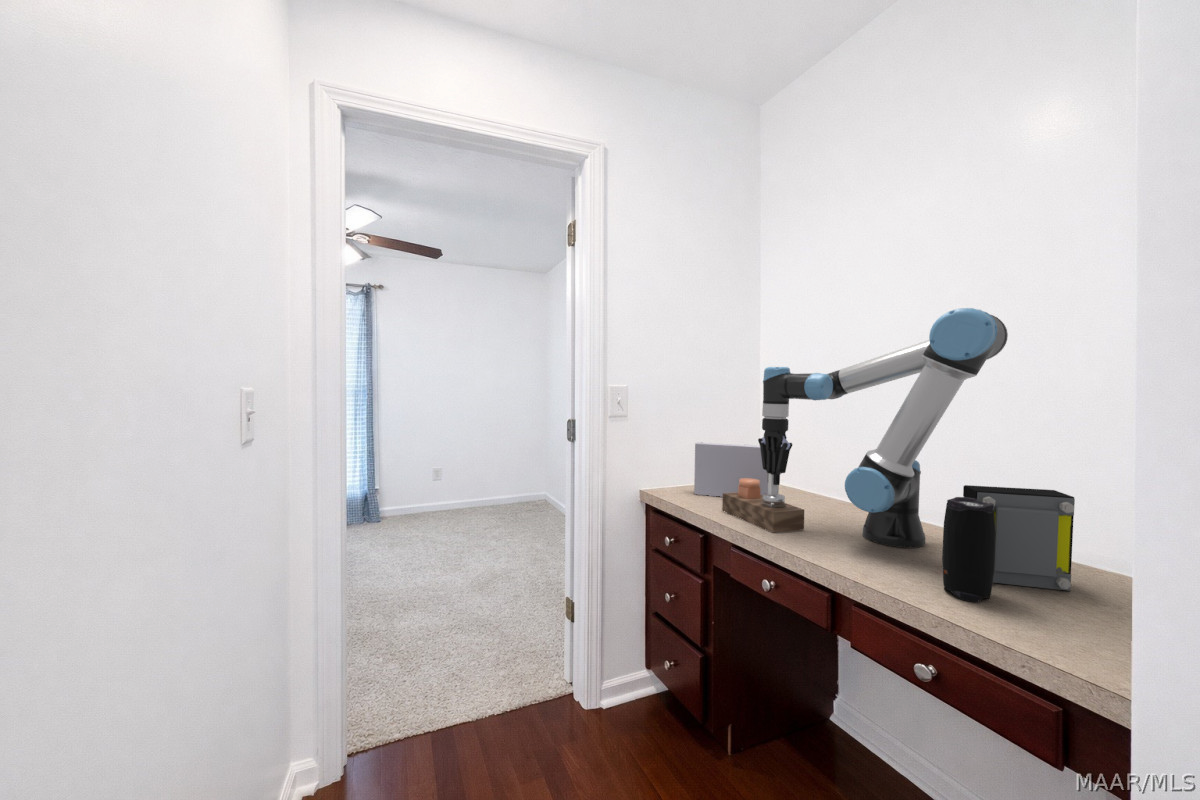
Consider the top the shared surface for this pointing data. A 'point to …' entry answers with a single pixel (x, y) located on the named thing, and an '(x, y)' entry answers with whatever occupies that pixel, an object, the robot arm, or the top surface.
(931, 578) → the top surface
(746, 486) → the terracotta button
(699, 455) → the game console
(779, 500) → the metal button
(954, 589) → the portable speaker
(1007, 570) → the electrical component
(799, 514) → the wooden base block
